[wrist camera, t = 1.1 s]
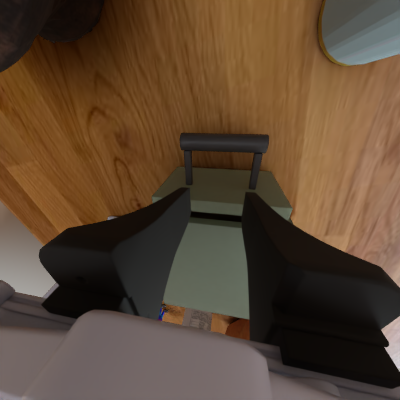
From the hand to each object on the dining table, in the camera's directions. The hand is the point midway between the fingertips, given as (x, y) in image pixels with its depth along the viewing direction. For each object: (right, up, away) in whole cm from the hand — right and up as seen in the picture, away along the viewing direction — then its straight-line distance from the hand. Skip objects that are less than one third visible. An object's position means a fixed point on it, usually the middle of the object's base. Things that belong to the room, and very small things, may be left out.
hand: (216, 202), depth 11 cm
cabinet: (+2, -3, +14) cm, 14 cm away
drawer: (+2, 0, +11) cm, 11 cm away
